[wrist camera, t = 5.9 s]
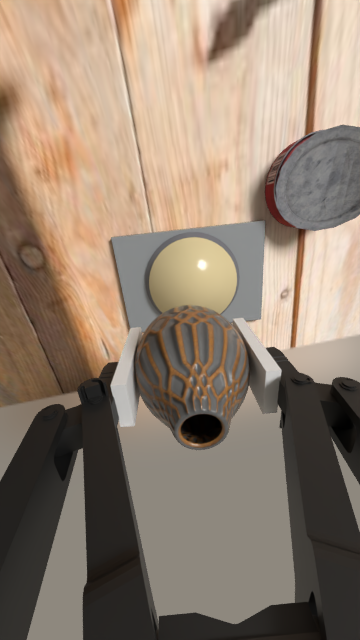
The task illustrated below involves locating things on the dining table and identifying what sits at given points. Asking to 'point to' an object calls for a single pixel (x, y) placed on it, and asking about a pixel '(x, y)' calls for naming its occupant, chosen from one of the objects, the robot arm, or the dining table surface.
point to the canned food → (317, 180)
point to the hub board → (192, 271)
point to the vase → (193, 374)
